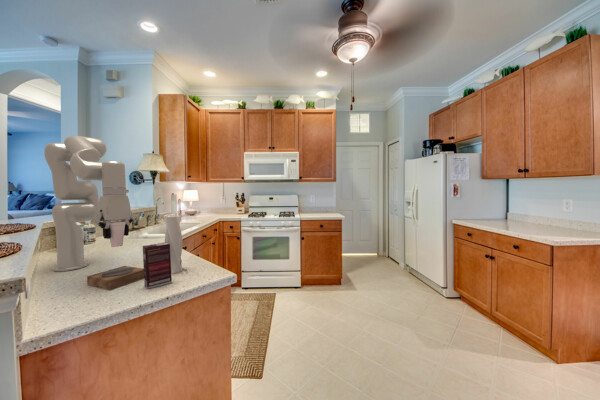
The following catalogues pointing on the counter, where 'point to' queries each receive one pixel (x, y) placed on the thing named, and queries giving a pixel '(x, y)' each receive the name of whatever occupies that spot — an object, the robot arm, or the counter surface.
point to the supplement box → (157, 265)
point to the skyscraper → (174, 241)
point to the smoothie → (117, 233)
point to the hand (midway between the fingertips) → (116, 236)
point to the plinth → (115, 277)
